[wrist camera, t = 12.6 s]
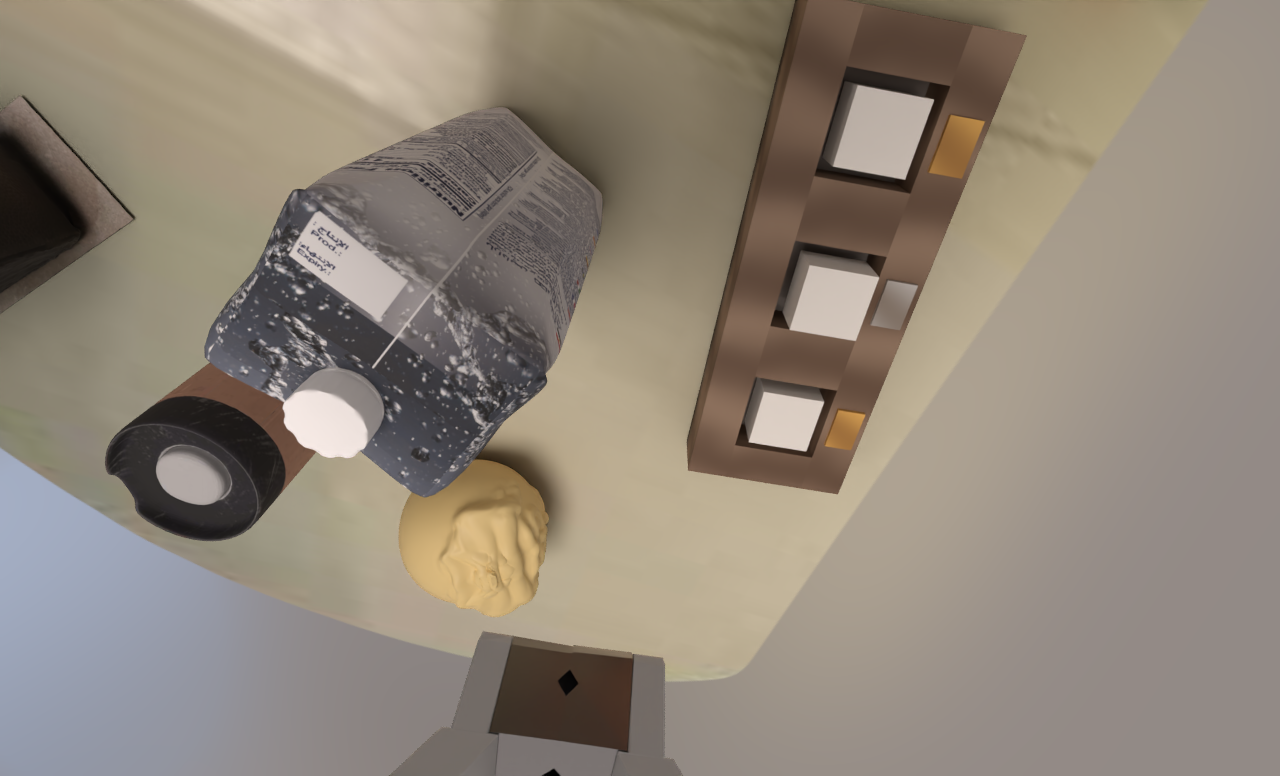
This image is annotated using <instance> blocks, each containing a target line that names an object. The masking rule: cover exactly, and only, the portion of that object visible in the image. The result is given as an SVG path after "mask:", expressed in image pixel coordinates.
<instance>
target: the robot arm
mask: <svg viewBox="0 0 1280 776" xmlns="http://www.w3.org/2000/svg"><path fill="white" fill-rule="evenodd" d="M664 729H665V663H664V661H663V658H661V657H654V656H646V655H639V654H633V655H632V653H631V652H623V651H616V650H608V649H600V648H593V647H585V646H577V645H573V646H569V645H563V644H557V643H551V642H545V641H540V640H534V639H528V638H522V637H516V636H511V635H504V634H497V633H491V632H484V631H483V633H482V635H481V637H480V638H479V640H478V643H477V646H476V649H475V653H474V656H473V659H472V662H471V666H470V669H469V672H468V675H467V678H466V681H465V685H464V688H463V691H462V694H461V697H460V701H459V704H458V707H457V710H456V713H455V717H454V720H453V723H452V726H451V728H447V727H441V728H440V729H439V730H438V731H437V732H435V733H434V734H433V736H431V737H430V738H429V739H428V740H427V741H426V742H425V743H424V744H423V745H422V746H420V747H419V748H418V749H417V750H416V751H415V752H414V753H413V754H412V755H411V756H410V757H409V758H408V759H406V760H405V762H403V763H402V764H401V765H400V766H399V767H398V768H397V769H396V770H395V771H394V772H392V773H391V774H390V775H389V776H683V775H682V773H681V771H680V769H679V768H678V766H677V764H676V762H675V761H674V759H670V758H664V748H665V747H664V746H665V742H664V739H665V738H664V737H665V730H664Z"/></svg>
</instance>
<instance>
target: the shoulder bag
mask: <svg viewBox="0 0 1280 776" xmlns="http://www.w3.org/2000/svg"><path fill="white" fill-rule="evenodd" d="M30 109H31V110H30ZM132 220H133V218H132V217H131V216H130V215H129V214H128V213H127V212H126V211H125V210H124V208H123V207H122V206H121V205H120V204H119V203H118V202H117V201H116V200H115V199H114V198H113V197H112V195H111V194H110V193H109V192H108V191H107V189H106V188H105V187H104V186H103V185H102V184H101V183H100V182H99V181H98V180H97V179H96V178H95V176H94V175H93V174H92V173H91V172H90V171H89V170H88V169H87V168H86V167H85V165H84V164H83V163H82V162H81V161H80V160H79V158H78V157H77V156H76V155H75V154H74V153H73V152H72V151H71V150H70V149H69V148H68V147H67V146H66V145H65V144H64V142H63V141H62V140H61V139H60V138H59V137H58V136H57V135H56V134H55V133H54V132H53V130H52V129H51V128H50V127H49V126H48V125H47V124H46V123H45V122H44V121H43V120H42V119H41V117H40V116H39V115H38V114H37V113H36V112H35V111H34V110H33V109H32V108H31V107H30V106H29V105H28V103H27V102H26V101H25V100H24V99H23V98H22V97H21V96H19V97H18V98H16V99H15V100H14V101H13V102H12V103H10V104H9V105H8V106H7V107H6V108H4V109H3V110H2V111H1V112H0V313H1V312H3V311H4V310H6V309H7V308H9V307H10V306H12V305H13V304H14V303H16V302H17V301H19V300H20V299H22V298H23V297H24V296H26V295H27V294H28V293H30V292H31V291H33V290H34V289H36V288H37V287H38V286H40V285H41V284H42V283H44V282H45V281H47V280H48V279H50V278H51V277H52V276H54V275H55V274H57V273H58V272H59V271H61V270H62V269H64V268H65V267H67V266H68V265H69V264H71V263H72V262H74V261H75V260H76V259H78V258H79V257H81V256H82V255H83V254H85V253H86V252H88V251H89V250H90V249H92V248H94V247H95V246H96V245H98V244H99V243H101V242H102V241H104V240H105V239H107V238H108V237H109V236H111V235H112V234H114V233H115V232H117V231H118V230H119V229H121V228H122V227H124V226H125V225H126V224H128V223H129V222H131V221H132Z"/></svg>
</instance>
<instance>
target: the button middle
mask: <svg viewBox="0 0 1280 776" xmlns="http://www.w3.org/2000/svg"><path fill="white" fill-rule="evenodd" d="M878 280H879V276H878V275H877V274H876V273H875V272H874V270H873V269H872V268H871V267H870V266H869V264H868V263H867V262H865V261H859V260H854V259H848V258H843V257H837V256H831V255H826V254H820V253H814V252H809V251H803V250H801V252H800V255H799V258H798V262H797V265H796V268H795V272H794V275H793V278H792V282H791V285H790V288H789V292H788V295H787V298H786V302H785V305H784V308H783V314H784V317H785V319H786V322H787V324H788V327H789V329H790V330H794V331H799V332H805V333H811V334H817V335H823V336H829V337H835V338H841V339H846V340H852V341H856V339H857V336H858V334H859V331H860V328H861V325H862V323H863V320H864V317H865V315H866V312H867V309H868V307H869V304H870V301H871V299H872V296H873V293H874V291H875V288H876V285H877V283H878Z"/></svg>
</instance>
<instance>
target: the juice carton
mask: <svg viewBox="0 0 1280 776" xmlns="http://www.w3.org/2000/svg"><path fill="white" fill-rule="evenodd" d="M602 207H603V199H602V194H601V192H600V191H599V190H598V189H597V188H596V187H595V186H594V185H593V184H592V183H591V182H589V181H588V180H587V179H586V178H585V177H584V176H583V175H581V174H580V173H579V172H578V171H577V170H575V169H574V168H573V167H571V166H570V165H569V164H568V163H566V162H565V161H564V160H563V159H561V158H560V157H559V156H558V155H557V154H555V153H554V152H553V151H552V150H551V149H550V148H549V147H548V146H547V145H546V144H545V143H544V142H543V141H542V140H541V139H540V138H539V137H538V136H537V135H536V134H535V133H534V132H533V131H532V130H531V129H530V128H529V127H528V126H527V125H526V124H525V123H524V122H523V121H522V120H520V119H519V118H518V117H517V116H516V115H515V114H514V113H512V112H511V111H510V110H509V109H507V108H505V107H497V108H490V109H484V110H478V111H474V112H470V113H467V114H464V115H462V116H459V117H457V118H454V119H452V120H449V121H447V122H445V123H442V124H440V125H438V126H435V127H433V128H431V129H429V130H426V131H424V132H422V133H419V134H417V135H415V136H412V137H410V138H408V139H405V140H403V141H401V142H398V143H396V144H394V145H391V146H389V147H387V148H385V149H382V150H380V151H378V152H375V153H373V154H371V155H368V156H366V157H364V158H362V159H359V160H357V161H355V162H352V163H350V164H348V165H346V166H343V167H341V168H339V169H337V170H335V171H333V172H331V173H329V174H327V175H325V176H323V177H322V178H321V179H319V180H318V181H316V182H315V183H313V184H312V185H310V186H309V187H308V188H307V189H306V190H303V189H296V190H293V191H292V193H291V194H290V195H289V197H288V199H287V201H286V202H285V204H284V206H283V209H282V211H281V213H280V215H279V217H278V219H277V222H276V224H275V226H274V229H273V231H272V233H271V236H270V238H269V240H268V243H267V245H266V247H265V250H264V252H263V254H262V256H261V258H260V260H259V262H258V263H257V265H256V267H255V269H254V270H253V272H252V273H251V275H250V276H249V277H248V278H247V279H246V280H245V282H244V283H243V284H242V285H241V286H240V287H239V289H238V290H237V291H236V292H235V293H234V295H233V296H232V297H231V298H230V300H229V301H228V302H227V303H226V305H225V306H224V308H223V309H222V311H221V312H220V314H219V315H218V317H217V318H216V320H215V322H214V323H213V325H212V326H211V328H210V331H209V334H208V337H207V340H206V343H205V347H204V348H205V358H206V359H207V360H208V361H209V362H210V363H212V364H213V365H214V366H215V367H216V368H218V369H220V370H221V371H223V372H225V373H227V374H228V375H230V376H232V377H234V378H236V379H238V380H240V381H242V382H244V383H245V384H247V385H249V386H251V387H253V388H255V389H257V390H259V391H262V392H264V393H266V394H268V395H270V396H272V397H274V398H276V399H278V400H280V401H282V402H284V405H283V410H284V413H285V418H284V424H285V426H286V428H287V429H288V430H289V431H291V432H292V433H293V434H294V435H295V437H296V439H297V441H298V442H299V443H300V444H301V445H302V446H304V447H305V448H309V449H313V450H315V451H317V452H318V453H319V454H321V455H322V456H325V457H329V458H333V457H344V458H350V457H353V456H355V455H356V454H357V453H358V452H359V451H361V452H362V453H363V454H365V455H366V456H367V457H368V458H369V459H371V460H372V461H373V462H374V463H375V464H377V465H378V466H379V467H380V468H381V469H383V470H384V471H385V472H386V473H388V474H389V475H390V476H391V477H393V478H394V479H395V480H396V481H398V482H399V483H400V484H402V485H403V486H404V487H406V488H407V489H409V490H410V491H411V492H413V493H415V494H417V495H419V496H422V497H429V496H432V495H435V494H436V493H438V492H439V491H441V490H443V489H444V488H446V487H447V486H449V485H450V484H451V483H452V482H453V481H454V480H455V479H456V478H457V477H458V476H459V475H460V474H461V473H462V472H464V471H465V469H466V468H467V467H468V466H469V465H470V464H471V463H472V461H473V460H474V459H475V458H476V457H477V455H478V454H479V453H480V452H481V451H482V449H483V448H484V447H485V446H486V444H487V443H488V442H489V440H490V439H491V438H492V436H493V435H494V434H495V432H496V431H497V430H498V428H499V427H500V426H501V424H502V423H503V422H504V421H505V420H506V419H507V418H508V417H509V416H511V415H512V414H513V413H514V412H516V411H517V410H518V409H519V408H521V407H522V406H523V405H524V404H526V403H527V402H528V401H529V400H531V399H532V398H533V397H534V396H535V395H536V394H538V393H539V392H540V391H541V390H542V389H543V388H544V386H545V385H546V383H547V378H546V372H547V371H548V370H549V369H550V368H551V367H552V365H553V364H554V362H555V361H556V359H557V357H558V354H559V352H560V350H561V347H562V345H563V342H564V339H565V336H566V333H567V330H568V328H569V325H570V322H571V319H572V316H573V313H574V310H575V307H576V304H577V301H578V298H579V295H580V292H581V289H582V286H583V283H584V280H585V277H586V274H587V271H588V268H589V265H590V262H591V259H592V256H593V252H594V249H595V246H596V243H597V240H598V237H599V234H600V229H601V222H602Z"/></svg>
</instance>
